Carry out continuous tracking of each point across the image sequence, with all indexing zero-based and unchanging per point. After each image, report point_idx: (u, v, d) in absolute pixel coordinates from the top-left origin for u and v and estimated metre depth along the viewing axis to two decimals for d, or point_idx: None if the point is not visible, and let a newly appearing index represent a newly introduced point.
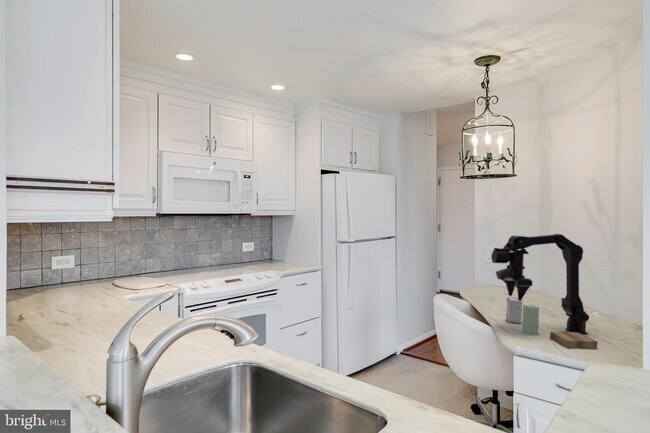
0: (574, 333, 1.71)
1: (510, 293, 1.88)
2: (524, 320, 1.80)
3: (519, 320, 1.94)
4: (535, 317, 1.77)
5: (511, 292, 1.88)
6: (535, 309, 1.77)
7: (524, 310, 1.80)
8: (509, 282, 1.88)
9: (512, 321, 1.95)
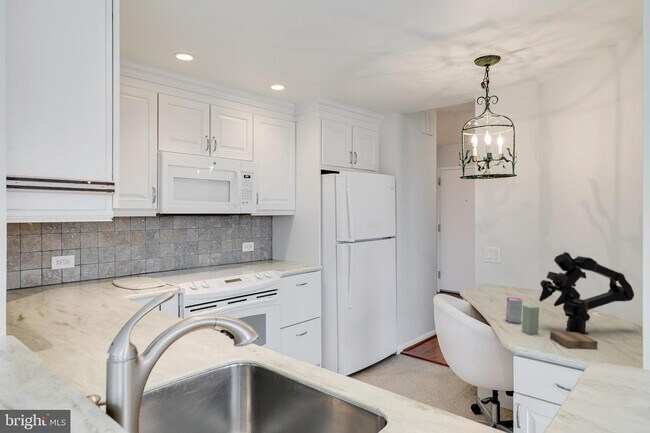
0: (574, 333, 1.71)
1: (541, 299, 1.85)
2: (524, 320, 1.80)
3: (519, 320, 1.94)
4: (535, 317, 1.77)
5: (543, 298, 1.85)
6: (535, 309, 1.77)
7: (524, 310, 1.80)
8: (547, 290, 1.86)
9: (512, 321, 1.95)
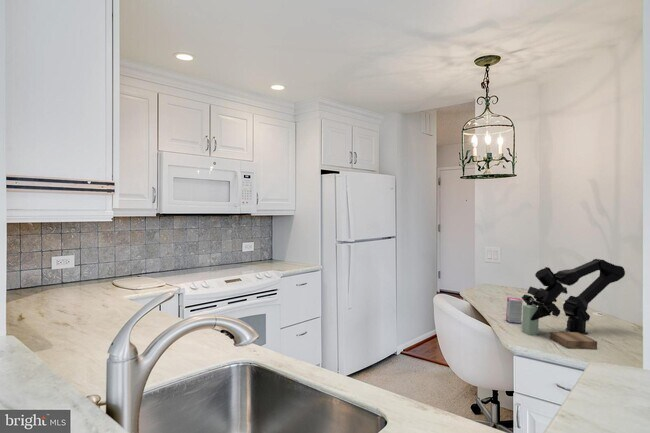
0: (574, 333, 1.71)
1: None
2: (524, 320, 1.80)
3: (519, 320, 1.94)
4: None
5: None
6: (535, 309, 1.77)
7: (524, 310, 1.80)
8: None
9: (512, 321, 1.95)
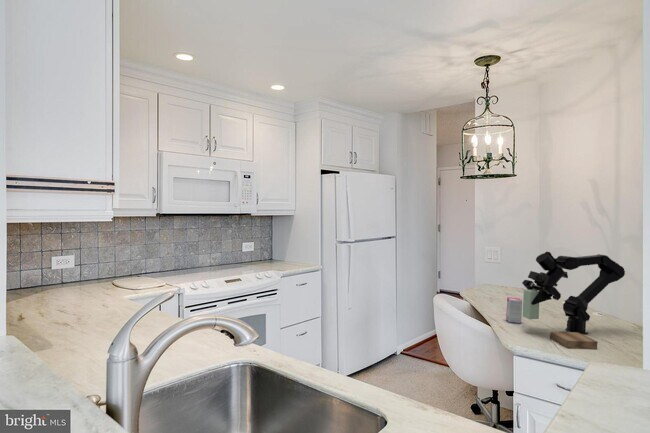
0: (574, 333, 1.71)
1: None
2: (524, 304, 1.80)
3: (519, 320, 1.94)
4: None
5: None
6: (536, 293, 1.77)
7: (525, 294, 1.80)
8: None
9: (512, 321, 1.95)
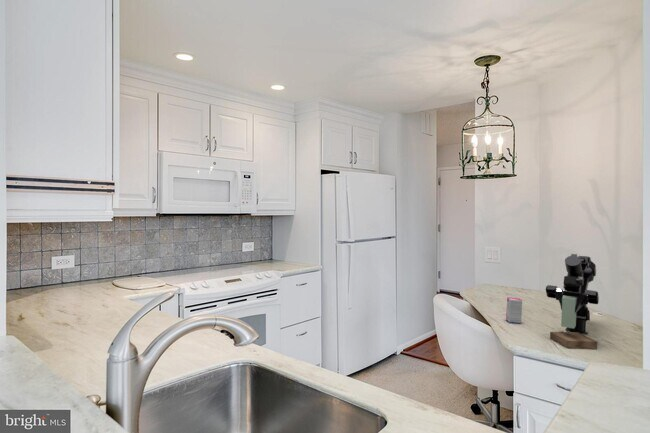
0: (574, 333, 1.71)
1: None
2: (564, 313, 1.66)
3: (519, 320, 1.94)
4: None
5: None
6: (576, 300, 1.66)
7: (565, 302, 1.66)
8: None
9: (512, 321, 1.95)
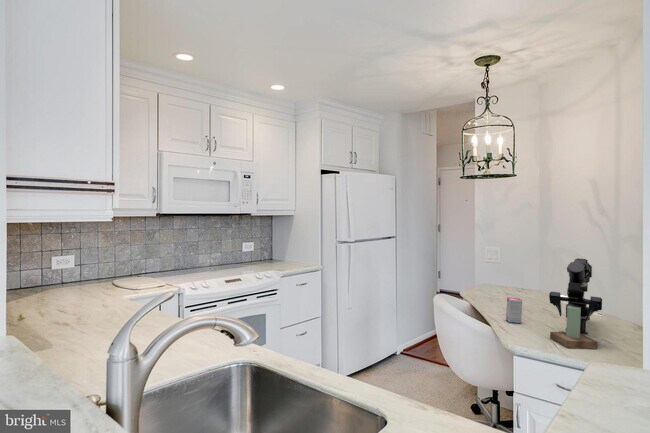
0: None
1: None
2: (569, 323, 1.65)
3: (519, 320, 1.94)
4: None
5: None
6: (580, 310, 1.65)
7: (569, 313, 1.65)
8: (560, 302, 1.71)
9: (512, 321, 1.95)
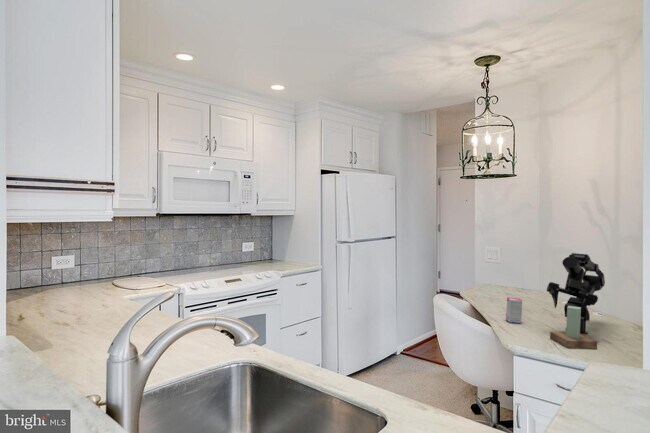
0: None
1: (556, 305, 1.76)
2: (569, 323, 1.65)
3: (519, 320, 1.94)
4: (580, 318, 1.65)
5: (556, 304, 1.77)
6: (580, 310, 1.65)
7: (569, 313, 1.65)
8: (557, 294, 1.78)
9: (512, 321, 1.95)
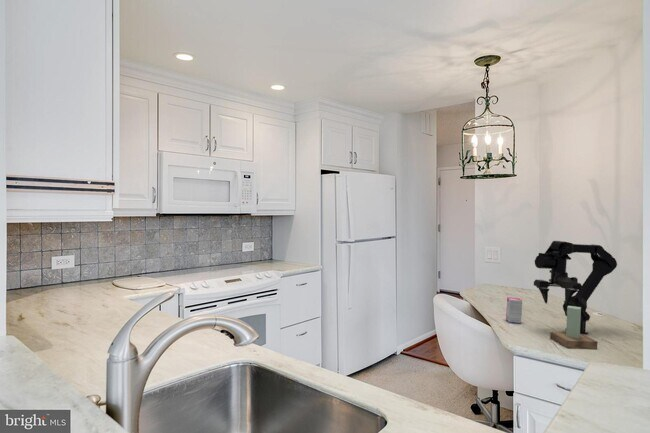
0: None
1: None
2: (569, 323, 1.65)
3: (519, 320, 1.94)
4: (580, 318, 1.65)
5: None
6: (580, 310, 1.65)
7: (569, 313, 1.65)
8: None
9: (512, 321, 1.95)
